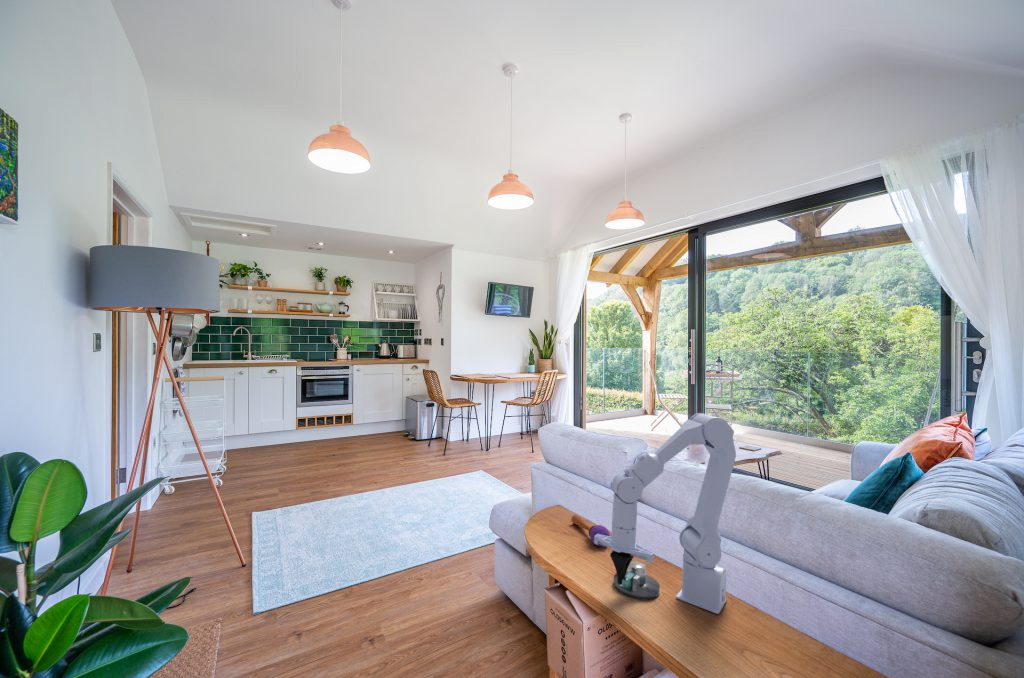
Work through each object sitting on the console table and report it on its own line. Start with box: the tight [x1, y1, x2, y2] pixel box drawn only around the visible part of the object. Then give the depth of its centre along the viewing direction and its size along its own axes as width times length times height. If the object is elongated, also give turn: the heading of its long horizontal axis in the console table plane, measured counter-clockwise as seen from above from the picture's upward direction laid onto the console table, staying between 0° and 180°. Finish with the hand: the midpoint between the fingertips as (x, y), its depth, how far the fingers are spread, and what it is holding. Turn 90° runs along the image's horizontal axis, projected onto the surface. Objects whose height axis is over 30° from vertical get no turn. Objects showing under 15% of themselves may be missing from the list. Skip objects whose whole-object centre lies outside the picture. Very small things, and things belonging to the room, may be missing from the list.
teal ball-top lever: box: [622, 561, 647, 590], centre depth 104 cm, size 10×4×4 cm, turn 143°
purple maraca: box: [571, 514, 611, 547], centre depth 137 cm, size 6×6×20 cm
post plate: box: [613, 570, 661, 601], centre depth 106 cm, size 11×11×4 cm
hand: (621, 582), depth 103 cm, fingers closed, pressing on teal ball-top lever
